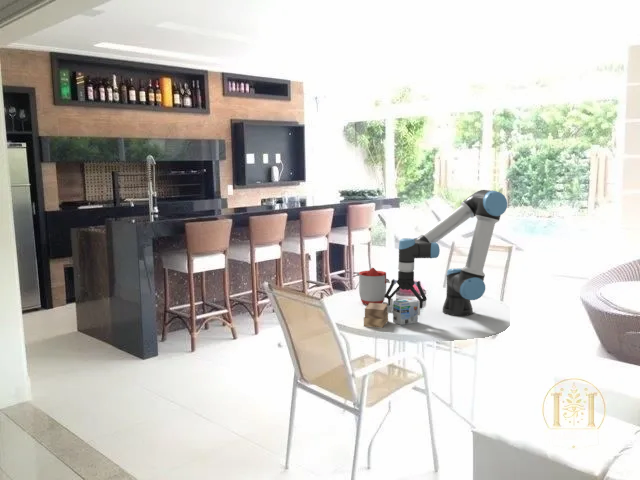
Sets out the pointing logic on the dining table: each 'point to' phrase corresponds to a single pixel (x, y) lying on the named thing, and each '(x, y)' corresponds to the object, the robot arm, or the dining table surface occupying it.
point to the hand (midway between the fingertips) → (404, 313)
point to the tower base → (375, 322)
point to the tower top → (376, 310)
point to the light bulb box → (405, 311)
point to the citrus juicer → (372, 286)
